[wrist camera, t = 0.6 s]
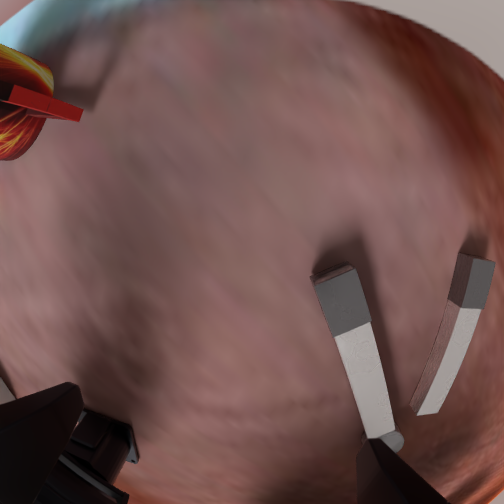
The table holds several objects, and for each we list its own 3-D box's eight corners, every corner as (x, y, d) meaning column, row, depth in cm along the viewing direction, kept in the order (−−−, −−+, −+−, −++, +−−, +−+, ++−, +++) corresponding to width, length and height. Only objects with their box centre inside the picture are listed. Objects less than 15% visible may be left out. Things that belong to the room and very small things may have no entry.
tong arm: (399, 436, 21) (405, 450, 19) (364, 451, 21) (368, 465, 19) (354, 257, 18) (363, 265, 16) (302, 279, 18) (305, 289, 16)
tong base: (430, 401, 20) (439, 413, 18) (408, 403, 20) (416, 417, 18) (480, 256, 17) (495, 262, 15) (458, 252, 17) (473, 258, 15)
